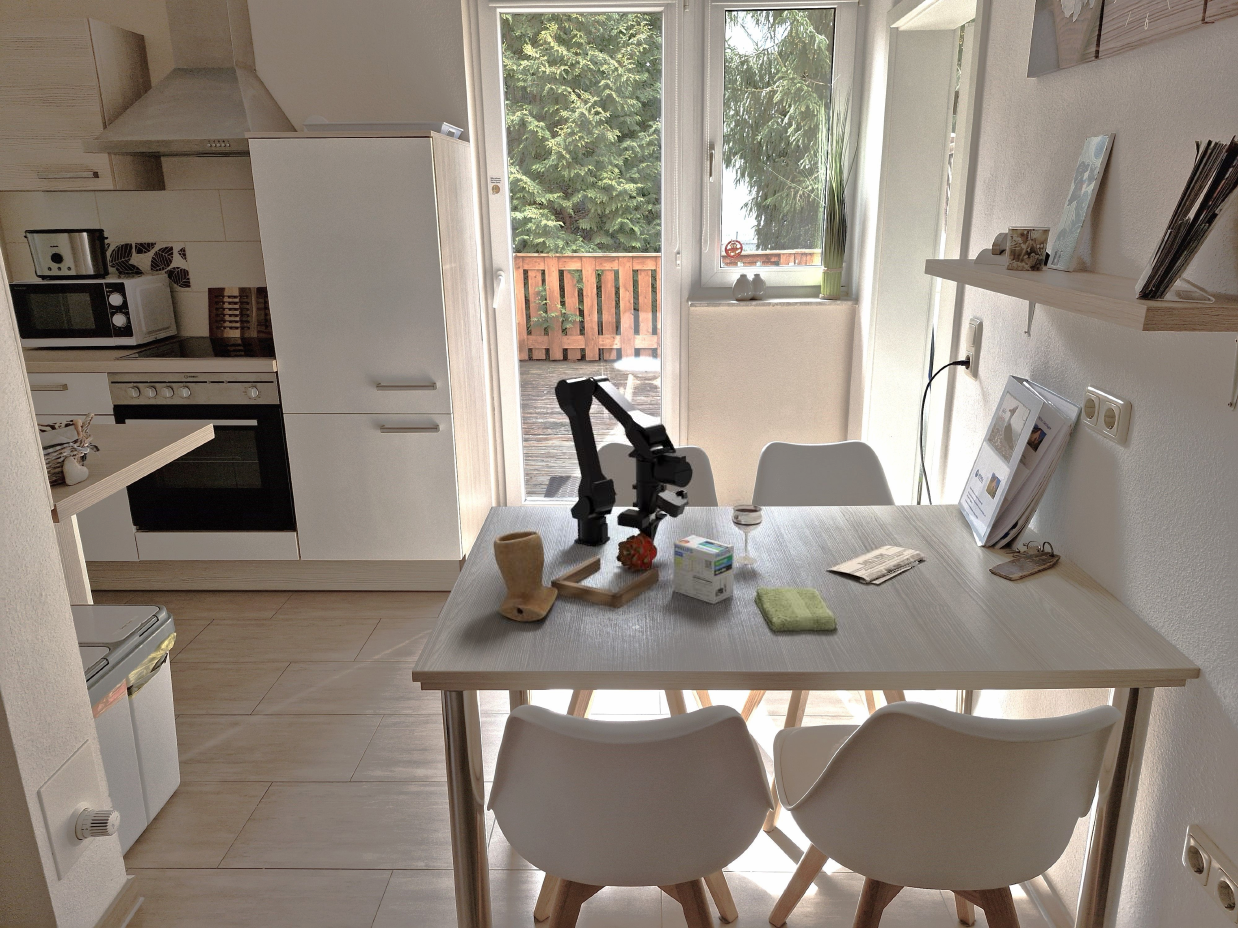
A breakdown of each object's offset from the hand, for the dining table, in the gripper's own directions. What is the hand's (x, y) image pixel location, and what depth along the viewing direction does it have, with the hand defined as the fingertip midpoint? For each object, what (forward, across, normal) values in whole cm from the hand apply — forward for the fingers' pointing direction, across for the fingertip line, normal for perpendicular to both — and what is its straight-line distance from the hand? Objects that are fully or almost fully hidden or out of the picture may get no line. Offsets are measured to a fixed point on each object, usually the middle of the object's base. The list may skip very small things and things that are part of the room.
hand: (649, 546), depth 196 cm
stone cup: (+3, -36, +9) cm, 37 cm away
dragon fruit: (+3, -6, 0) cm, 7 cm away
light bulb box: (+3, -12, -19) cm, 22 cm away
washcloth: (+4, -12, -38) cm, 40 cm away
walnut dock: (+3, -18, 0) cm, 18 cm away
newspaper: (+4, +21, -46) cm, 51 cm away
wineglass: (+4, +10, -19) cm, 22 cm away
